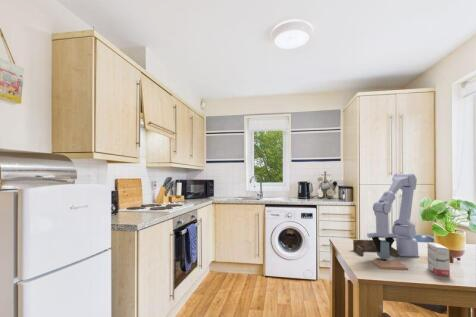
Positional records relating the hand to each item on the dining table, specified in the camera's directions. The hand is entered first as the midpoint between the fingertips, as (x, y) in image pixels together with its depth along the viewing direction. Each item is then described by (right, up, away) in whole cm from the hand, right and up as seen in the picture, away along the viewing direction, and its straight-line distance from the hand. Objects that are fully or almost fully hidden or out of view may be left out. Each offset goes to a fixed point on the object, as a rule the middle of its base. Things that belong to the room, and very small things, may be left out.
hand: (383, 252), depth 131 cm
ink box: (+15, -3, -17) cm, 23 cm away
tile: (-2, -3, -10) cm, 10 cm away
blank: (0, -3, 0) cm, 3 cm away
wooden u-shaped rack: (+1, -4, +10) cm, 11 cm away
